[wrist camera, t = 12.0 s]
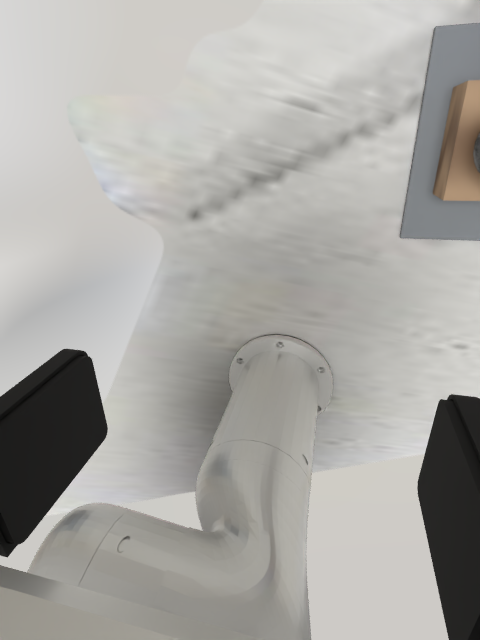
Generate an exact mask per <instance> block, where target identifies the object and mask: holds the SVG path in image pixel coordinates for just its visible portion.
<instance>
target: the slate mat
mask: <svg viewBox="0 0 480 640" xmlns="http://www.w3.org/2000/svg"><path fill="white" fill-rule="evenodd" d="M471 80H480V23H472V24H460V25H448V26H436V27H435V28H434V34H433V40H432V46H431V52H430V58H429V64H428V70H427V76H426V82H425V88H424V94H423V100H422V106H421V112H420V118H419V124H418V130H417V136H416V142H415V148H414V154H413V160H412V166H411V172H410V178H409V184H408V190H407V196H406V202H405V208H404V215H403V221H402V227H401V233H400V238H414V239H444V240H474V241H480V201H447V200H442V199H440V198H439V197H437V196H435V195H434V194H433V188H434V183H435V178H436V173H437V168H438V163H439V158H440V152H441V147H442V142H443V137H444V132H445V127H446V122H447V116H448V111H449V106H450V101H451V96H452V91H453V87H455V86H457V85H460V84H462V83H464V82H466V81H471Z"/></svg>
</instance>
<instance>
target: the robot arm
mask: <svg viewBox="0 0 480 640" xmlns="http://www.w3.org/2000/svg"><path fill="white" fill-rule="evenodd" d="M280 342H282V343H280ZM229 383H230V387H231V391H232V396H231V398H230V400H229V403H228V405H227V407H226V410H225V412H224V414H223V417H222V419H221V421H220V424H219V426H218V428H217V431H216V433H215V435H214V438H213V440H212V442H211V445H210V447H209V449H208V452H207V454H206V457H205V459H204V461H203V464H202V466H201V468H200V471H199V474H198V477H197V483H196V505H197V511H198V516H199V520H200V523H201V526H202V529H203V531H200V530H197V529H193V528H187V527H184V526H180V525H177V524H174V523H171V522H168V521H165V520H162V519H159V518H156V517H153V516H150V515H147V514H143V513H140V512H137V511H133V510H130V509H127V508H123V507H120V506H116V505H112V504H106V503H92V504H86V505H83V506H80V507H78V508H76V509H74V510H72V511H71V512H69V513H68V514H67V515H65V516H64V517H63V518H62V519H61V520H60V521H59V522H58V523H57V524H56V525H55V526H54V528H53V529H52V530H51V531H50V533H49V534H48V536H47V537H46V538H45V540H44V541H43V543H42V545H41V546H40V548H39V550H38V551H37V553H36V555H35V557H34V559H33V561H32V563H31V565H30V567H29V570H28V572H27V573H26V572H23V571H19V570H15V569H12V568H8V567H4V566H1V565H0V640H311V629H310V616H309V602H308V588H307V571H306V539H307V521H308V520H307V519H308V507H309V495H310V486H311V475H312V464H313V453H314V441H315V430H316V419H317V416H318V415H320V414H321V413H322V412H323V411H324V410H325V408H326V407H327V406H328V404H329V402H330V400H331V396H332V392H333V379H332V373H331V370H330V368H329V365H328V364H327V362H326V360H325V359H324V357H323V356H322V355H321V354H320V353H319V352H318V351H317V350H316V349H314V348H313V347H312V346H310V345H309V344H307V343H305V342H303V341H301V340H299V339H296V338H293V337H289V336H282V335H268V336H263V337H259V338H256V339H254V340H252V341H250V342H248V343H247V344H245V345H244V346H243V347H242V348H241V349H240V350H239V351H238V352H237V354H236V355H235V357H234V359H233V361H232V363H231V366H230V370H229ZM107 430H108V428H107V423H106V419H105V414H104V410H103V405H102V401H101V397H100V392H99V388H98V384H97V380H96V375H95V371H94V367H93V362H92V359H91V358H90V357H88V355H87V353H86V352H84V351H81V350H72V349H63V350H62V351H60V352H59V353H57V354H56V355H55V356H54V357H52V358H51V359H50V360H48V361H47V362H46V363H44V364H43V365H42V366H40V367H39V368H38V369H36V370H35V371H34V372H32V373H31V374H30V375H28V376H27V377H26V378H24V379H23V380H22V381H21V382H19V383H18V384H17V385H15V386H14V387H13V388H11V389H10V390H9V391H7V392H6V393H5V394H3V395H2V396H1V397H0V555H1V556H5V557H8V556H9V555H10V554H11V552H12V551H13V550H14V548H15V547H16V546H17V545H18V544H21V543H23V542H24V541H25V540H26V539H27V538H28V536H29V535H30V534H31V533H32V531H33V530H34V529H35V528H36V526H37V525H38V524H39V522H40V521H41V520H42V519H43V517H44V516H45V515H46V514H47V512H48V511H49V510H50V509H51V507H52V506H53V505H54V503H55V502H56V501H57V500H58V498H59V497H60V496H61V494H62V493H63V492H64V491H65V489H66V488H67V487H68V486H69V484H70V483H71V482H72V480H73V479H74V478H75V477H76V475H77V474H78V473H79V472H80V470H81V469H82V468H83V466H84V465H85V464H86V463H87V461H88V460H89V459H90V457H91V456H92V455H93V454H94V452H95V451H96V450H97V449H98V447H99V446H100V445H101V443H102V442H103V441H104V439H105V438H106V435H107ZM418 497H419V501H420V506H421V511H422V515H423V520H424V525H425V530H426V534H427V539H428V543H429V548H430V553H431V557H432V562H433V567H434V572H435V576H436V581H437V586H438V590H439V595H440V600H441V604H442V609H443V614H444V619H445V623H446V628H447V633H448V638H449V640H480V399H479V398H477V397H469V396H461V395H453V394H451V395H450V396H449V397H448V399H447V400H443V399H441V400H440V401H439V403H438V407H437V410H436V414H435V418H434V422H433V426H432V429H431V433H430V437H429V441H428V445H427V448H426V452H425V456H424V460H423V464H422V468H421V472H420V475H419V479H418Z"/></svg>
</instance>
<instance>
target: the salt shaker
mask: <svg viewBox="0 0 480 640" xmlns="http://www.w3.org/2000/svg"><path fill="white" fill-rule="evenodd" d="M473 157H474V163H475V166H476V168H477V170H478V172H479V173H480V132H479V135H478V137H477V139H476V141H475V145H474V151H473Z"/></svg>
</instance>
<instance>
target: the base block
mask: <svg viewBox="0 0 480 640" xmlns="http://www.w3.org/2000/svg"><path fill="white" fill-rule="evenodd" d="M479 132H480V80H471V81H466V82H464V83H462V84H460V85H457V86H455V87H453V91H452V96H451V101H450V106H449V111H448V116H447V122H446V127H445V132H444V137H443V142H442V147H441V152H440V158H439V163H438V168H437V173H436V178H435V183H434V188H433V194H434V195H435V196H437V197H439V198H440V199H442V200H447V201H480V173H479V172H478V170H477V168H476V166H475V163H474V157H473V151H474V145H475V141H476V139H477V137H478V135H479Z"/></svg>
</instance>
